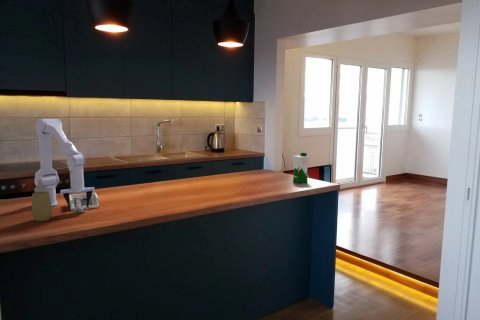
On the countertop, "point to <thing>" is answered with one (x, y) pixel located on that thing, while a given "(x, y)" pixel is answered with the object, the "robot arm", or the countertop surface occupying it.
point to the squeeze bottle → (41, 203)
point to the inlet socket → (85, 201)
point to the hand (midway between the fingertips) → (78, 208)
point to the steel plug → (78, 204)
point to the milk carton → (300, 168)
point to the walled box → (94, 197)
